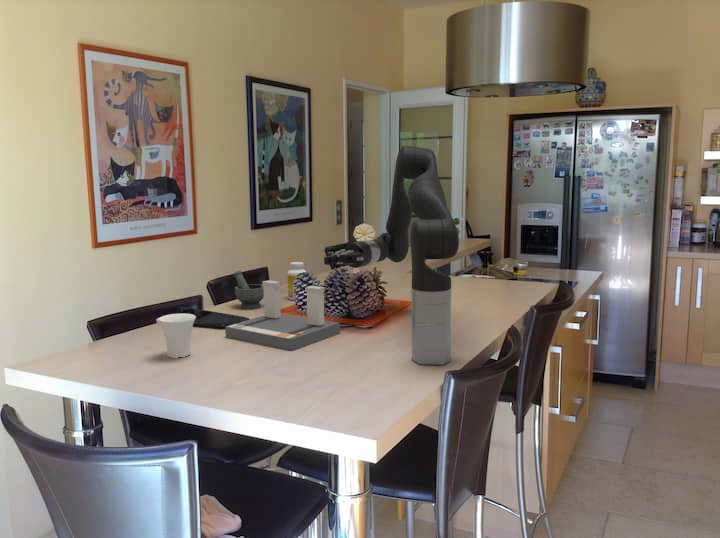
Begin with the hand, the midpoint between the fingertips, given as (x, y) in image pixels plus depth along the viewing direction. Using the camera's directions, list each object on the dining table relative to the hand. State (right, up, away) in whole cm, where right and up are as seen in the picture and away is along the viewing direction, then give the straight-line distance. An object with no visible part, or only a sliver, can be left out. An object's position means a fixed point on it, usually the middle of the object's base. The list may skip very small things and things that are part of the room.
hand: (326, 261), depth 173 cm
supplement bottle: (-13, -13, +48) cm, 51 cm away
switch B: (-16, -16, +8) cm, 24 cm away
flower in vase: (+9, -10, +63) cm, 64 cm away
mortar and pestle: (-28, -15, +36) cm, 48 cm away
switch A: (-3, -17, -2) cm, 17 cm away
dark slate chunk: (-36, -19, +17) cm, 44 cm away
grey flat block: (-12, -20, 0) cm, 24 cm away
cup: (-36, -24, -18) cm, 46 cm away
